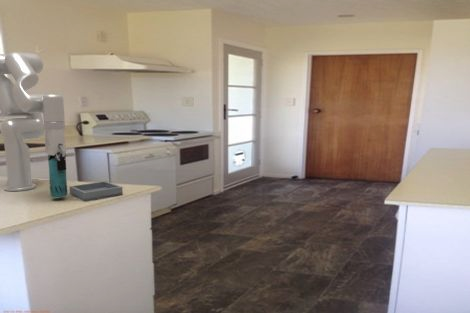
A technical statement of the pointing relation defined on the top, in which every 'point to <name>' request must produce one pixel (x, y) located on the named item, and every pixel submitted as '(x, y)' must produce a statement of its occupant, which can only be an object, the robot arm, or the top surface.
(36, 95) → the robot arm
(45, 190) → the top surface
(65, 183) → the beverage bottle
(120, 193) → the tray
